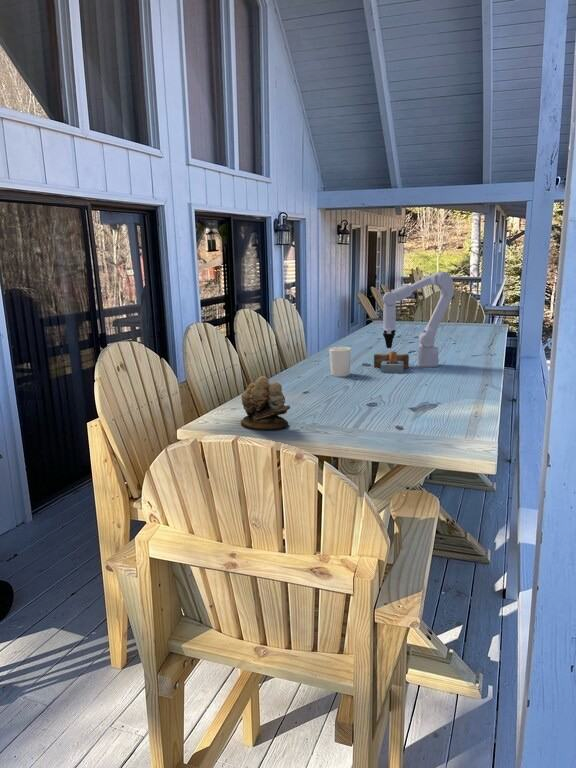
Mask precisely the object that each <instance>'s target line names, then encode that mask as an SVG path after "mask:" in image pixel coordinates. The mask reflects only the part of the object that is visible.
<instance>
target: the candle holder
mask: <svg viewBox="0 0 576 768" xmlns="http://www.w3.org/2000/svg"><path fill="white" fill-rule="evenodd" d="M351 350H352V348H351V347H347V346H334V347H329V348H328V353H329V354H328V355H329V365H330V375H331V376H332V375H333V376H332V377H335V376H344V377H348V376H350V374H351V354H352V353H351ZM347 375H348V376H347Z"/></svg>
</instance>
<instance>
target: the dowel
mask: <svg viewBox="0 0 576 768" xmlns="http://www.w3.org/2000/svg"><path fill="white" fill-rule="evenodd" d="M388 354H389V364H396V355H397V354H398V352H397V351H389V353H388Z"/></svg>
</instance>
